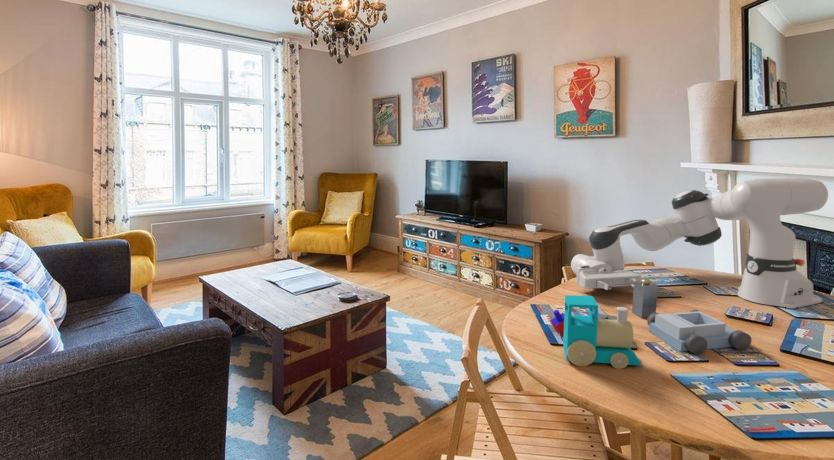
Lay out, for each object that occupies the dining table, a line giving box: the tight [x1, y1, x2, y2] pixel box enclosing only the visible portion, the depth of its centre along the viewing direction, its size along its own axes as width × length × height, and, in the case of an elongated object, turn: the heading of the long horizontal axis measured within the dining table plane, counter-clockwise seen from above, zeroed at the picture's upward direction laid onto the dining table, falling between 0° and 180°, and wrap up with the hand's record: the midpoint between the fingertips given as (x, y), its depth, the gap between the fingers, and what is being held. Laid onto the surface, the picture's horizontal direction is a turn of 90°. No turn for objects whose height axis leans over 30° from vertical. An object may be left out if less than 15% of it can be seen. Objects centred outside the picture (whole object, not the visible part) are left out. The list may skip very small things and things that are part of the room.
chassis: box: [646, 309, 752, 355], centre depth 113 cm, size 18×16×6 cm
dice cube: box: [598, 313, 617, 320], centre depth 116 cm, size 5×5×5 cm
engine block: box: [631, 278, 659, 319], centre depth 129 cm, size 4×4×11 cm
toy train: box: [562, 294, 643, 370], centre depth 102 cm, size 8×17×15 cm, turn 79°
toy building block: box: [550, 309, 565, 336], centre depth 119 cm, size 4×4×8 cm
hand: (622, 286), depth 139 cm, fingers open, 8 cm apart
